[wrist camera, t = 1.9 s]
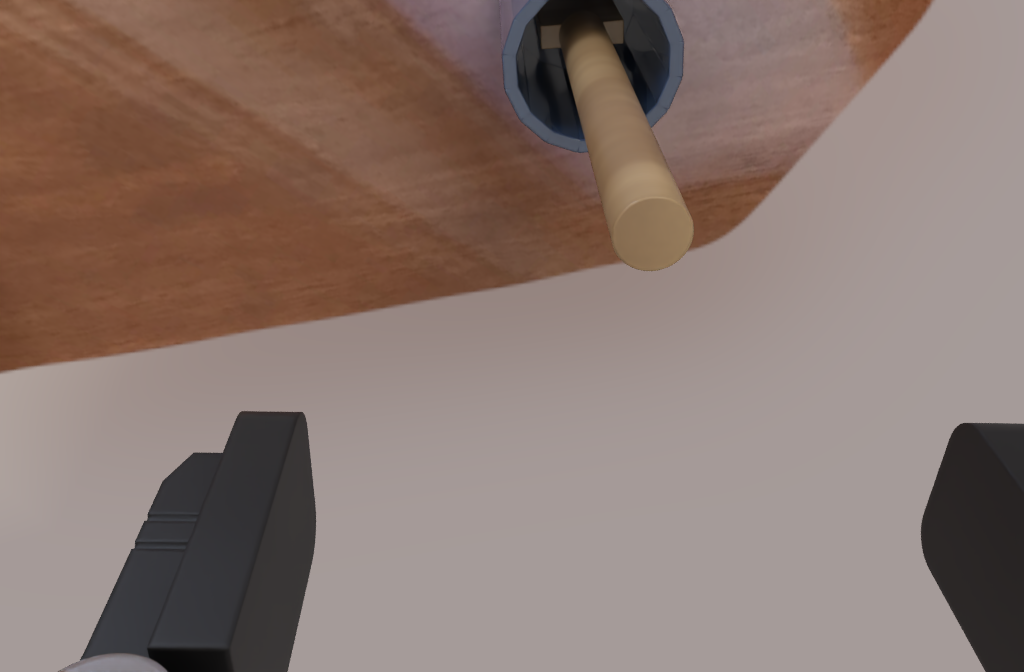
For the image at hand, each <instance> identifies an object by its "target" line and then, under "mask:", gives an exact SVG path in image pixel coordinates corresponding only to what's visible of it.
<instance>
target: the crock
mask: <svg viewBox="0 0 1024 672" xmlns="http://www.w3.org/2000/svg"><path fill="white" fill-rule="evenodd" d="M548 1H550V0H499V5H500V27H501V49H502V66H503V80H504V89H505V92H506V94H507V96H508V98H509V100H510V102H511V104H512V106H513V108H514V110H515V112H516V114H517V116H518V118H519V120H520V121H521V122H522V123H523V124H524V125H525V126H527V127H528V128H529V129H530V130H531V131H533V132H534V133H535V134H536V135H537V136H538V137H540V138H541V139H542V140H543V141H544V142H546V143H548V144H551V145H555V146H558V147H561V148H564V149H567V150H570V151H573V152H578V153H584V152H588V149H587V145H586V141H585V137H584V134H583V130H582V126H581V122H580V118H579V114H578V111H577V107H576V103H575V99H574V95H573V91H572V88H571V84H570V80H569V76H568V72H567V68H566V64H565V61H564V57H563V53H562V49H561V48H552V49H541V45H540V40H539V35H538V29H537V24H536V18H535V16H536V14H537V13H538V12H539V11H540V10H541V9H542V7H543V6H544V5H545V4H546V3H547V2H548ZM613 2H614V3H615V5H616V7H617V9H618V11H619V13H620V15H621V16H622V18H623V20H624V43H622V44H613V45H614V48H615V50H616V52H617V54H618V56H619V59H620V61H621V63H622V65H623V67H624V70H625V72H626V74H627V76H628V79H629V81H630V83H631V85H632V87H633V90H634V92H635V94H636V96H637V98H638V101H639V103H640V105H641V107H642V109H643V112H644V114H645V116H646V118H647V120H648V123H649V125H650V127H651V128H652V127H653V126H654V125H655V124H656V123H657V121H658V120H659V119H660V118H661V117H662V116H663V115H664V114H665V113H666V112H667V111H668V109H669V108H670V106H671V103H672V101H673V99H674V96H675V94H676V92H677V90H678V87H679V85H680V83H681V80H682V77H683V59H684V39H683V37H682V34H681V32H680V29H679V26H678V24H677V21H676V19H675V16H674V14H673V11H672V8H671V7H670V6H669V4H668V3H667V2H666V0H613Z"/></svg>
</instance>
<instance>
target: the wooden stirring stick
mask: <svg viewBox="0 0 1024 672" xmlns="http://www.w3.org/2000/svg"><path fill="white" fill-rule="evenodd" d="M535 18H536V24H537V29H538V35H539V40H540V45H541V49H552V48H561V49H562V53H563V57H564V61H565V64H566V68H567V72H568V76H569V80H570V84H571V88H572V91H573V95H574V99H575V103H576V107H577V111H578V114H579V118H580V122H581V126H582V130H583V134H584V137H585V141H586V145H587V149H588V153H589V157H590V160H591V164H592V168H593V172H594V176H595V180H596V183H597V187H598V191H599V195H600V199H601V203H602V206H603V210H604V214H605V218H606V222H607V226H608V230H609V233H610V237H611V241H612V245H613V248H614V250H615V252H616V254H617V256H618V257H619V258H620V259H621V260H622V261H623V262H624V263H625V264H627V265H629V266H630V267H632V268H635V269H638V270H643V271H656V270H660V269H664V268H666V267H669V266H671V265H673V264H674V263H676V262H677V261H678V260H680V259H681V258H682V257H683V256H684V255H685V253H686V252H687V250H688V249H689V247H690V245H691V242H692V239H693V234H694V225H693V221H692V218H691V215H690V213H689V211H688V209H687V207H686V204H685V202H684V200H683V198H682V196H681V193H680V191H679V189H678V187H677V184H676V182H675V180H674V178H673V176H672V173H671V171H670V169H669V167H668V165H667V162H666V160H665V158H664V156H663V154H662V151H661V149H660V147H659V145H658V143H657V140H656V138H655V136H654V134H653V132H652V129H651V127H650V125H649V123H648V120H647V118H646V116H645V114H644V112H643V109H642V107H641V105H640V103H639V101H638V98H637V96H636V94H635V92H634V90H633V87H632V85H631V83H630V81H629V79H628V76H627V74H626V72H625V70H624V67H623V65H622V63H621V61H620V59H619V56H618V54H617V52H616V50H615V48H614V45H613V44H622V43H624V20H623V18H622V16H621V15H620V13H619V11H618V9H617V7H616V5H615V3H614V2H613V0H550V1H548V2H547V3H546V4H545V5H544V6H543V7H542V9H541V10H540V11H539V12H538V13H537V14H536V16H535Z"/></svg>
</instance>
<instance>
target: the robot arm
mask: <svg viewBox="0 0 1024 672" xmlns="http://www.w3.org/2000/svg"><path fill="white" fill-rule="evenodd" d="M315 535H316V510H315V498H314V489H313V479H312V468H311V459H310V449H309V439H308V429H307V422H306V418H305V415H304V413H303V412H253V411H252V412H251V411H242V412H240V413H239V415H238V416H237V418H236V421H235V423H234V426H233V428H232V431H231V433H230V436H229V438H228V441H227V444H226V446H225V449H224V452H223V453H193V454H192V455H191V456H190V457H189V458H188V459H186V460H185V461H184V462H183V463H182V464H181V465H180V466H179V467H178V468H177V469H175V470H174V471H173V472H172V473H171V474H170V475H169V476H168V477H167V478H166V479H165V480H164V481H163V482H162V484H161V486H160V489H159V491H158V493H157V495H156V497H155V499H154V502H153V504H152V506H151V508H150V510H149V512H148V520H147V521H144V523H143V525H142V528H141V530H140V532H139V534H138V537H137V539H136V541H135V548H134V549H131V552H130V554H129V556H128V558H127V560H126V563H125V565H124V567H123V569H122V571H121V573H120V576H119V578H118V580H117V582H116V584H115V586H114V589H113V591H112V593H111V595H110V597H109V600H108V602H107V604H106V606H105V608H104V611H103V613H102V615H101V617H100V619H99V621H98V624H97V626H96V628H95V630H94V632H93V634H92V637H91V639H90V641H89V643H88V645H87V648H86V650H85V652H84V654H83V656H82V657H81V659H80V661H79V662H76V663H74V664H71V665H69V666H67V667H65V668H64V669H62V670H60V671H58V672H287V671H288V667H289V662H290V658H291V653H292V649H293V644H294V640H295V636H296V631H297V626H298V622H299V618H300V613H301V609H302V604H303V600H304V596H305V590H306V587H307V582H308V578H309V573H310V569H311V564H312V559H313V554H314V546H315ZM921 541H922V549H923V553H924V557H925V560H926V563H927V565H928V567H929V569H930V571H931V573H932V575H933V577H934V578H935V580H936V582H937V584H938V586H939V588H940V590H941V591H942V593H943V595H944V597H945V599H946V600H947V602H948V604H949V606H950V608H951V610H952V611H953V613H954V615H955V617H956V619H957V620H958V622H959V624H960V626H961V628H962V630H963V631H964V633H965V635H966V637H967V639H968V640H969V642H970V644H971V646H972V648H973V650H974V651H975V653H976V655H977V657H978V659H979V660H980V662H981V664H982V666H983V668H984V670H985V671H986V672H1024V424H1003V423H963V424H960V425H959V426H957V428H955V430H954V431H953V433H952V435H951V437H950V439H949V442H948V445H947V448H946V451H945V454H944V457H943V460H942V463H941V465H940V468H939V471H938V474H937V477H936V480H935V483H934V486H933V489H932V491H931V494H930V497H929V500H928V503H927V506H926V509H925V512H924V515H923V520H922V525H921Z"/></svg>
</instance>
